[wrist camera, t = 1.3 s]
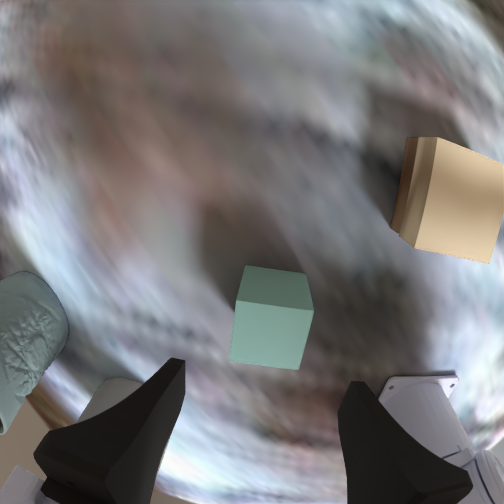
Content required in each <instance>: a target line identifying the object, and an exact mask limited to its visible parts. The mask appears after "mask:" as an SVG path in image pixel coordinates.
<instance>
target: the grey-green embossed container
mask: <svg viewBox="0 0 504 504" xmlns="http://www.w3.org/2000/svg"><path fill="white" fill-rule="evenodd" d="M68 336H69V326H68V320H67V316H66V314H65V311H64V309H63V307H62V305H61V302H60V301H59V299H58V297H57V296H56V294H55V293H54V292H53V290H52V289H51V288H50V287H49V286H48V285H47V284H46V283H45V282H44V281H43V280H42V279H41V278H39V277H38V276H36V275H35V274H32V273H30V272H25V271H21V272H17V273H15V274H13V275H10V276H8V277H6V278H4V279H2V280H0V435H1V434H4V433H5V432H6V431H7V430H8V428H9V426H10V424H11V423H12V421H13V419H14V417H15V416H16V414H17V412H18V410H19V408H20V407H21V405H22V403H23V402H24V398H25V395H28V394H30V393H31V391H32V389H33V388H34V387H35V386H36V385H37V383H38V381H39V379H41V377H42V376H43V374H44V372H45V370H47V369H48V367H49V366H50V365H51V363H52V362H53V361H54V359H55V358H56V357H57V356H58V354H59V353H60V352H61V350H62V349H63V348H64V346H65V345H66V343H67V340H68Z"/></svg>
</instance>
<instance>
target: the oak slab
mask: <svg viewBox="0 0 504 504" xmlns="http://www.w3.org/2000/svg"><path fill="white" fill-rule="evenodd" d="M503 213H504V165H503V164H501V163H498V162H496V161H494V160H492V159H490V158H488V157H486V156H483V155H481V154H479V153H476V152H474V151H472V150H469V149H467V148H465V147H462V146H460V145H457V144H455V143H452V142H450V141H447V140H444V139H442V138H439V137H419V139H418V145H417V152H416V158H415V164H414V169H413V175H412V180H411V185H410V190H409V195H408V199H407V204H406V208H405V213H404V217H403V221H402V225H401V229H400V233H399V236H400V237H401V238H402V239H403V240H405V241H406V242H407V243H408V244H409V245H411V246H412V247H413V248H415V249H420V250H425V251H430V252H435V253H440V254H445V255H450V256H455V257H460V258H464V259H469V260H474V261H478V262H483V263H488V264H489V263H490V260H491V256H492V253H493V250H494V247H495V243H496V240H497V236H498V233H499V229H500V225H501V221H502V217H503Z"/></svg>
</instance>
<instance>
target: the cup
mask: <svg viewBox="0 0 504 504" xmlns="http://www.w3.org/2000/svg"><path fill="white" fill-rule="evenodd" d="M142 385H143V384H141V383H139V382H137V381H133V380H129V379H125V378H121V377H118V378H112V379H106V380H105V381H104V382H103V383H102V384H101V386H100V387H99V388H98V390H97V391H96V393H95V394H94V396H93V397H92V399H91V400H90V402H89V403H88V405H87V407H86V408H85V410H84V411H83V413H82V414H81V416H80V417H79V419H78V421H77V422H76V423H79V422H81V421H84V420H86V419H89V418H91V417H93V416H96V415H98V414H100V413H101V412H103V411H105V410H107V409H109V408H111V407H112V406H114V405H116V404H117V403H119V402H120V401H122V400H123V399H125V398H126V397H127V396H129V395H130V394H131V393H133V392H134V391H135V390H137V389H138V388H139V387H140V386H142ZM170 436H171V435H170ZM169 439H170V438H169ZM168 442H169V440H168ZM168 442H167V445H168ZM167 445H166V447H165V450H164V452H163V455H162V458H161V461H160V465H161V463H162V460H163V457H164V454H165V451H166V448H167ZM160 465H159V468H160ZM159 468H158V471H159ZM157 474H158V472H157ZM156 477H157V476H156Z"/></svg>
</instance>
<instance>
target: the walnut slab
mask: <svg viewBox="0 0 504 504" xmlns="http://www.w3.org/2000/svg"><path fill="white" fill-rule="evenodd" d="M418 139H419V137H415V138H407V141H406V148H405V154H404V160H403V166H402V172H401V178H400V183H399V189H398V194H397V199H396V204H395V208H394V213H393V217H392V222H391V226H390V228H391V229H393V230H394V231H395V232H397V233H398V234H399V233H400V229H401V225H402V221H403V217H404V213H405V208H406V204H407V199H408V195H409V190H410V185H411V180H412V175H413V169H414V164H415V158H416V152H417V145H418Z"/></svg>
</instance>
